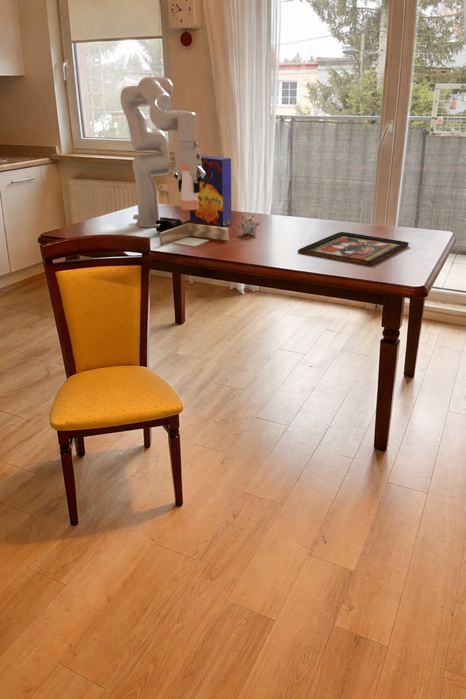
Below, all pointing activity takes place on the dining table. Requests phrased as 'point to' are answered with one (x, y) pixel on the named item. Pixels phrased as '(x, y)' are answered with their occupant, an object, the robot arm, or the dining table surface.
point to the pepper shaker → (188, 190)
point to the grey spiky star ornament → (248, 225)
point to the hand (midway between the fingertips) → (189, 191)
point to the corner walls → (193, 232)
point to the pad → (191, 241)
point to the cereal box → (214, 192)
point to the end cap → (167, 224)
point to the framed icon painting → (354, 248)
